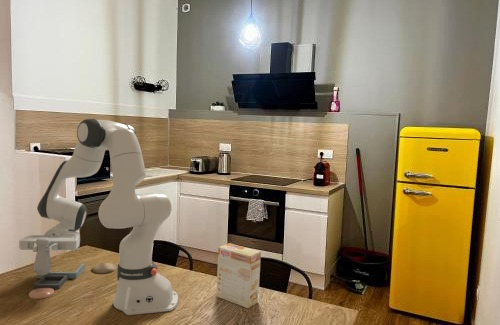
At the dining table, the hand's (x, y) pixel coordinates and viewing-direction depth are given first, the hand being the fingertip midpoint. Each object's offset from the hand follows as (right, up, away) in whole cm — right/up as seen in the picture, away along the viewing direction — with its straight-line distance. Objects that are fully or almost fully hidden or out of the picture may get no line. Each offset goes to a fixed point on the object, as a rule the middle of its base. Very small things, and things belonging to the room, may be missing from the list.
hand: (41, 249), depth 132 cm
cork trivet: (+12, -15, +28) cm, 34 cm away
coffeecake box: (+70, -20, +7) cm, 73 cm away
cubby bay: (-3, -15, +21) cm, 26 cm away
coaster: (-1, -17, +2) cm, 17 cm away
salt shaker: (-1, -9, +2) cm, 9 cm away
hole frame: (-2, -16, +11) cm, 19 cm away
